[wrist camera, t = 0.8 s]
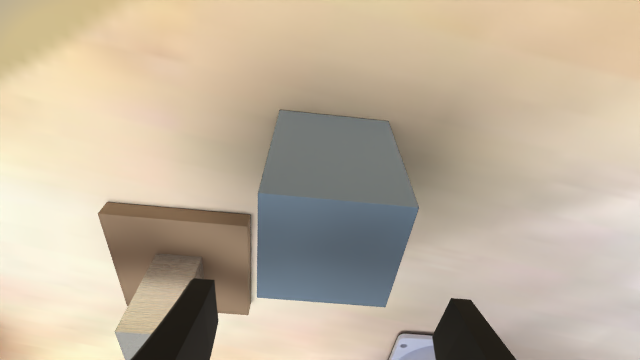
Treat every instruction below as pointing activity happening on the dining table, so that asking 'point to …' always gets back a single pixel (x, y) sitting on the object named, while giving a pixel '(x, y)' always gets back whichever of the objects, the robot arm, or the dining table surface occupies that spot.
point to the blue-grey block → (332, 211)
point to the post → (155, 298)
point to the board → (181, 247)
